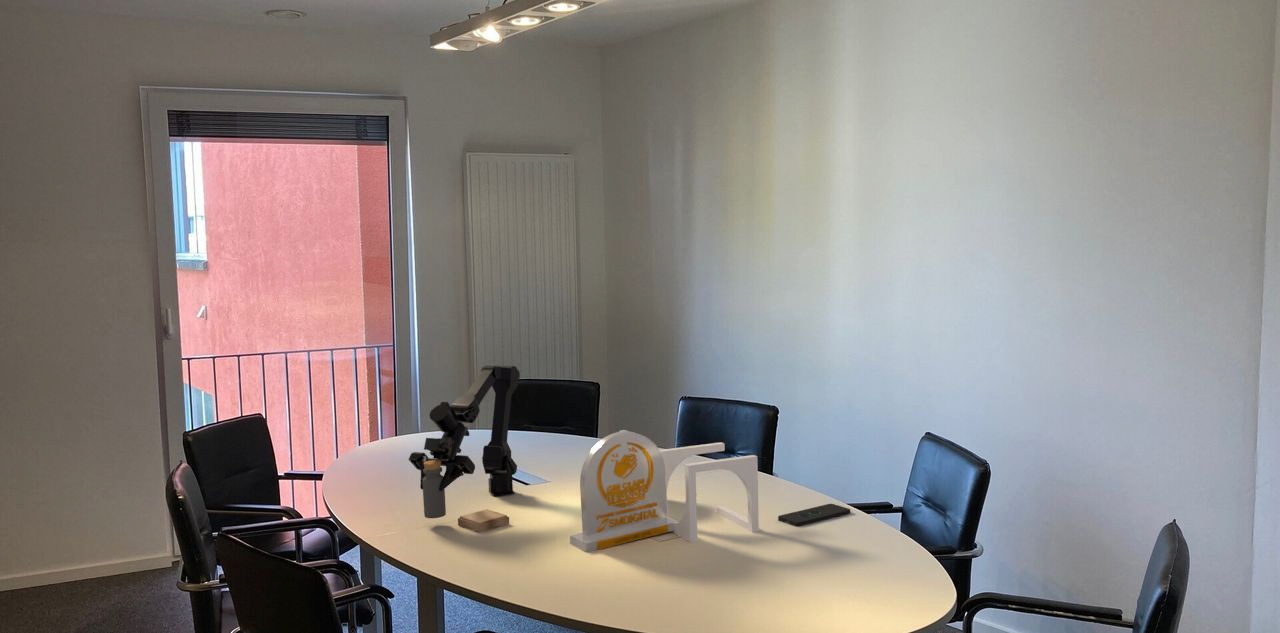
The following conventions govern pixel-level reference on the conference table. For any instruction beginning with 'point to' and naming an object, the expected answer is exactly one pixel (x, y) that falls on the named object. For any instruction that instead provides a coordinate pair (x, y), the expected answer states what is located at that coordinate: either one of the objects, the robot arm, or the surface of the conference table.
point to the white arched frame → (739, 465)
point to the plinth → (483, 520)
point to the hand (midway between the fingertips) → (430, 489)
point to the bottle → (433, 490)
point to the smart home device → (814, 515)
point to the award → (622, 492)
